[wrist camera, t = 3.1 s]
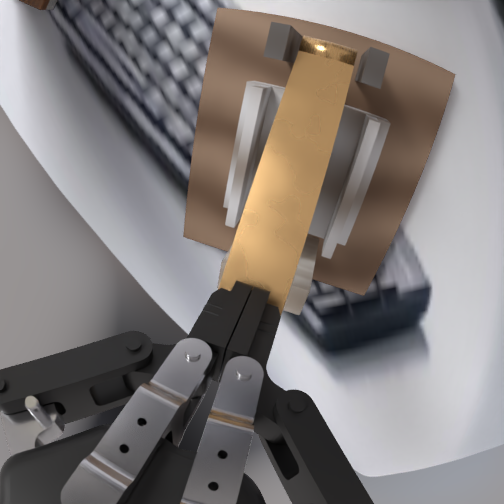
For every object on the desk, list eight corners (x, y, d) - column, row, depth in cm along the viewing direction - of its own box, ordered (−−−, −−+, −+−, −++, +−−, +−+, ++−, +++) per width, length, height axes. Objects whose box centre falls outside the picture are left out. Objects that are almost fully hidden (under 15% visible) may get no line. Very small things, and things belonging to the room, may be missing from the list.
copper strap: (304, 46, 15) (305, 30, 14) (354, 60, 15) (359, 44, 13) (214, 315, 15) (206, 321, 14) (272, 335, 15) (271, 343, 14)
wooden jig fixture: (224, 10, 19) (171, -11, 12) (449, 74, 17) (497, 78, 10) (189, 229, 31) (145, 280, 24) (363, 285, 29) (363, 354, 22)
